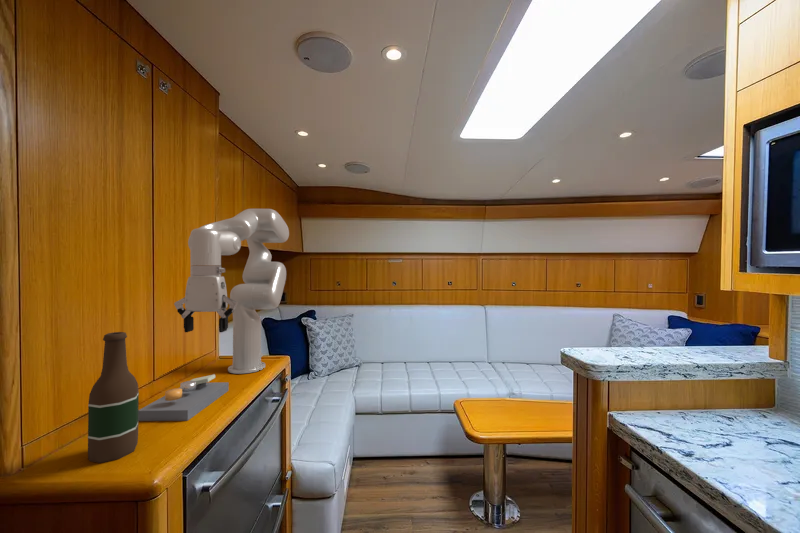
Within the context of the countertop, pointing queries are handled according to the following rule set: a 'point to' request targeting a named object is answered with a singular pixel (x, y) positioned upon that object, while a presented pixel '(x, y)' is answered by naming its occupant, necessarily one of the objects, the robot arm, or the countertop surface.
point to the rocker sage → (203, 379)
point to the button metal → (188, 386)
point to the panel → (183, 403)
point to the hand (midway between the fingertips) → (206, 331)
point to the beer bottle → (113, 405)
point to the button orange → (173, 394)
